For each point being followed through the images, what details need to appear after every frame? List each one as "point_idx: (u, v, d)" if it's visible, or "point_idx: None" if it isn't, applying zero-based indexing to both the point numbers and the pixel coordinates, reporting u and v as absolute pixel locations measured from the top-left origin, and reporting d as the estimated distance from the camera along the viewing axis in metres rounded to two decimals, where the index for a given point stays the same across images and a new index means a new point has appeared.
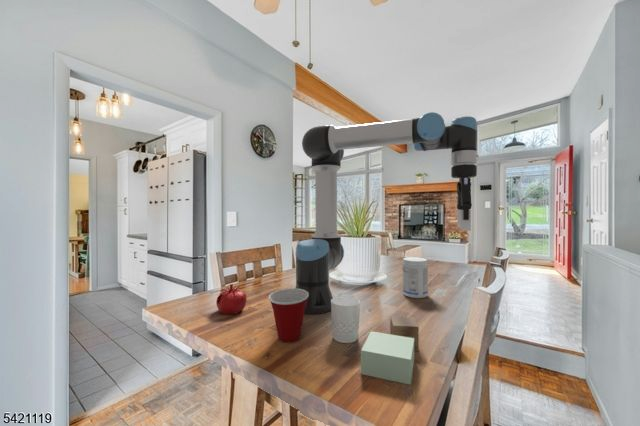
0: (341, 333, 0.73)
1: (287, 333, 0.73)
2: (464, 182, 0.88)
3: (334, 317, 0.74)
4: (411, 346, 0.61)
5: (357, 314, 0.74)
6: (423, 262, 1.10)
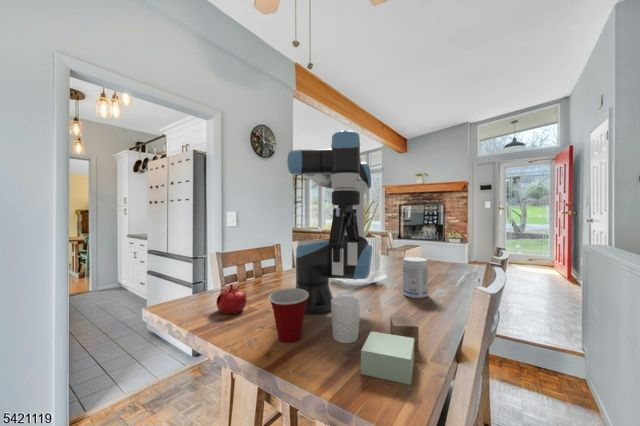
0: (341, 333, 0.73)
1: (287, 333, 0.73)
2: (336, 214, 0.70)
3: (334, 317, 0.74)
4: (411, 346, 0.61)
5: (357, 314, 0.74)
6: (423, 262, 1.10)
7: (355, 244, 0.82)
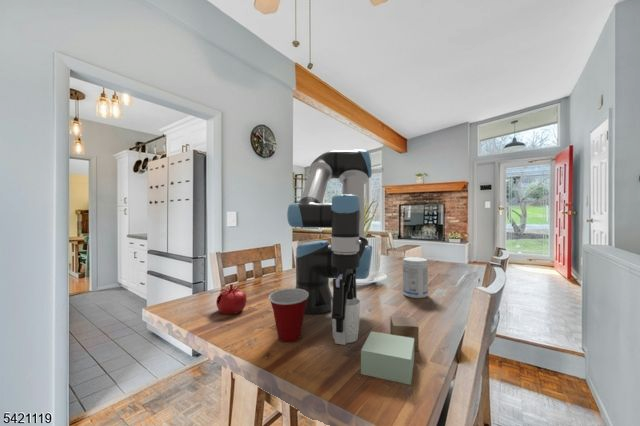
0: None
1: (287, 333, 0.73)
2: (336, 285, 0.70)
3: None
4: (411, 346, 0.61)
5: (357, 314, 0.74)
6: (423, 262, 1.10)
7: None
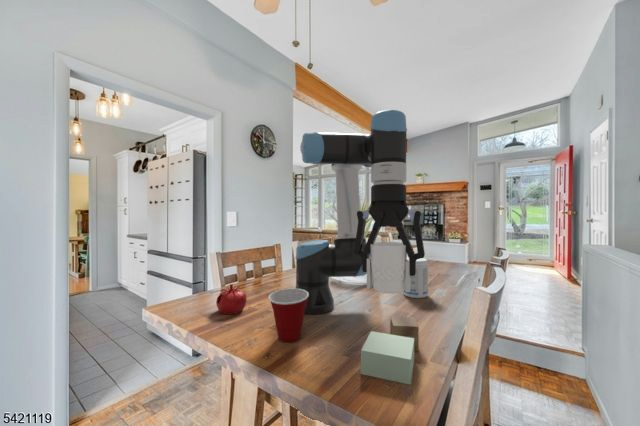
0: None
1: (287, 333, 0.73)
2: None
3: None
4: (411, 346, 0.61)
5: (380, 259, 0.59)
6: (423, 262, 1.10)
7: None
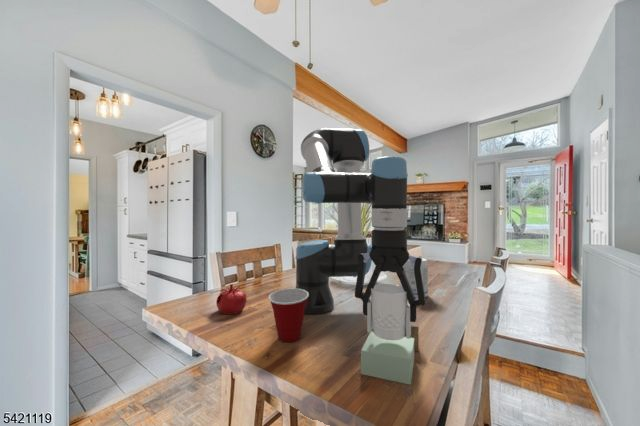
0: None
1: (287, 333, 0.73)
2: None
3: None
4: (411, 346, 0.61)
5: (381, 305, 0.59)
6: (423, 262, 1.10)
7: (406, 309, 0.60)
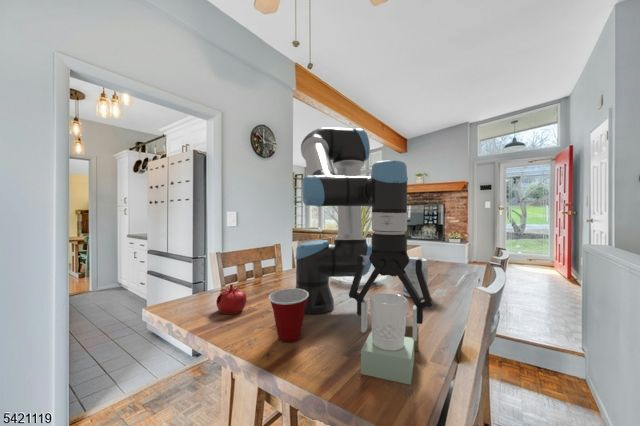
0: None
1: (287, 333, 0.73)
2: None
3: None
4: (411, 346, 0.61)
5: (380, 316, 0.59)
6: (423, 262, 1.10)
7: None
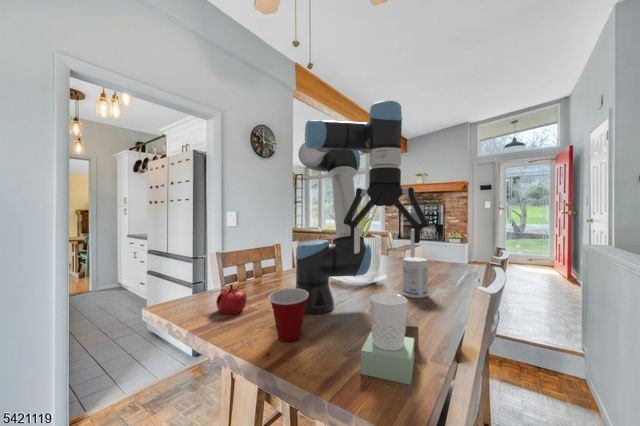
0: None
1: (287, 333, 0.73)
2: None
3: None
4: (411, 346, 0.61)
5: (380, 316, 0.59)
6: (423, 262, 1.10)
7: (411, 231, 0.66)
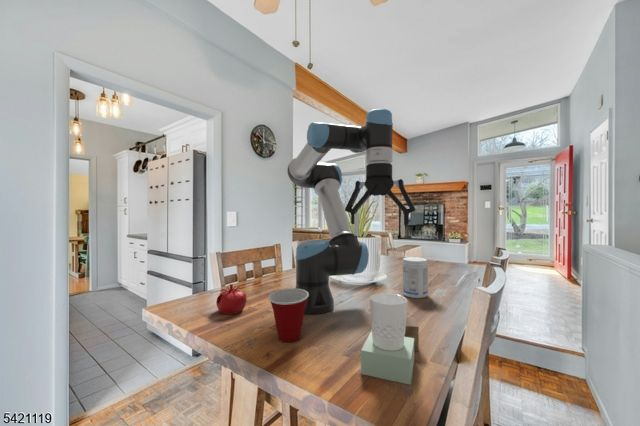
0: None
1: (287, 333, 0.73)
2: None
3: None
4: (411, 346, 0.61)
5: (380, 316, 0.59)
6: (423, 262, 1.10)
7: (401, 215, 0.80)
